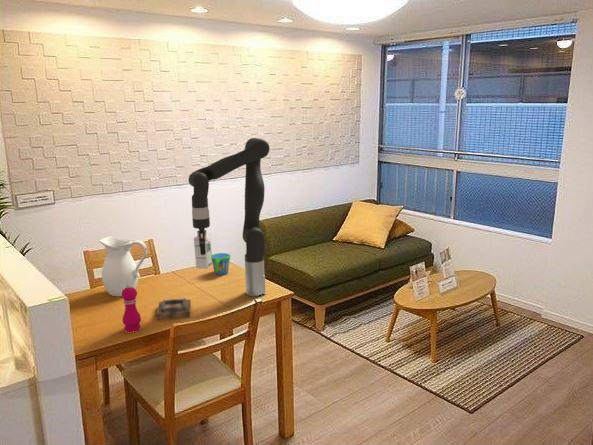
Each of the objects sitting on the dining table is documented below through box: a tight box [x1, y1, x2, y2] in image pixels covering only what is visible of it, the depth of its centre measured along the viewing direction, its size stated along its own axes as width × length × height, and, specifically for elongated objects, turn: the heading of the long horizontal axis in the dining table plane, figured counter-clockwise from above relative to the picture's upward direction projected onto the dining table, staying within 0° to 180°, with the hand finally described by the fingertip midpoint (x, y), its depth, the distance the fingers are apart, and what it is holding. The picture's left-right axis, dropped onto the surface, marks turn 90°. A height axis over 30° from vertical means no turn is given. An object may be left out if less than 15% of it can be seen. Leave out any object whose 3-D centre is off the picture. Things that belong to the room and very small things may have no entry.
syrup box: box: [193, 234, 213, 270], centre depth 223 cm, size 6×6×14 cm
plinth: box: [156, 298, 192, 321], centre depth 220 cm, size 14×14×4 cm
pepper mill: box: [121, 284, 142, 333], centre depth 201 cm, size 7×7×20 cm
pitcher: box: [98, 235, 148, 297], centre depth 240 cm, size 24×17×28 cm
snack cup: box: [212, 252, 231, 276], centre depth 270 cm, size 16×10×10 cm
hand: (203, 252), depth 223 cm, fingers closed on syrup box, 7 cm apart
